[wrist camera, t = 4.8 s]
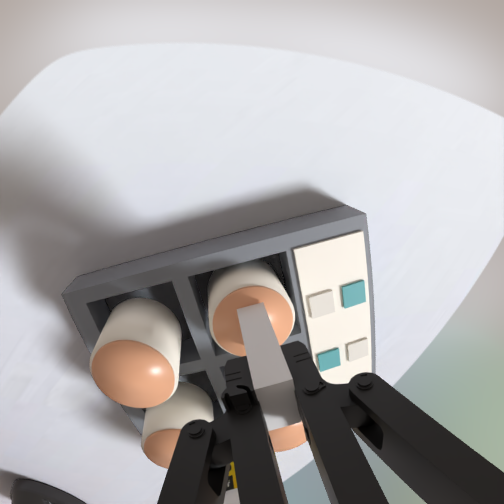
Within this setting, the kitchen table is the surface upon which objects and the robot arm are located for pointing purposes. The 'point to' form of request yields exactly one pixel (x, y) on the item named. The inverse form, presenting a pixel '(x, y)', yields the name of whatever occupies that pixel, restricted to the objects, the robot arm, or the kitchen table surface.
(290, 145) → the kitchen table surface
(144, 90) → the kitchen table surface
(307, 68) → the kitchen table surface
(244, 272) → the button
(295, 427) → the button
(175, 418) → the button
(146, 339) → the button
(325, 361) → the board
